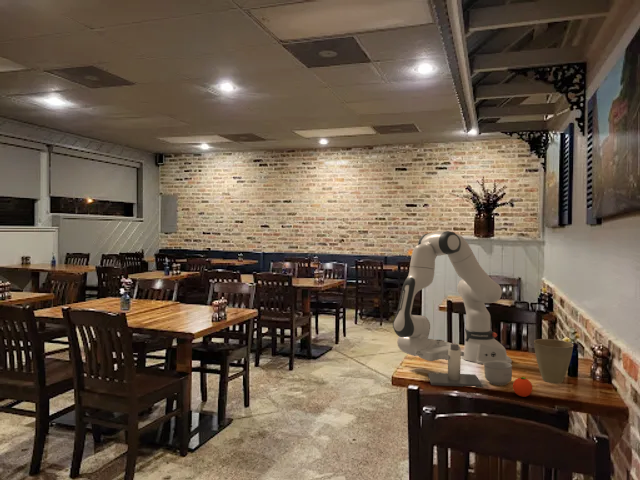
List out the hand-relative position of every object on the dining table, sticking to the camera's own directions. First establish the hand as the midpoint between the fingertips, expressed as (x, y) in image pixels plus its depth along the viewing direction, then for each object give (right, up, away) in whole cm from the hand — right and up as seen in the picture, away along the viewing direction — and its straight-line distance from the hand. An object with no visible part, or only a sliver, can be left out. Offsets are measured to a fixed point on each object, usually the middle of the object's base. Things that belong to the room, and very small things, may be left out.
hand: (456, 356), depth 202 cm
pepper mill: (-1, -9, +1) cm, 10 cm away
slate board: (-1, -10, +1) cm, 11 cm away
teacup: (+17, -11, 0) cm, 20 cm away
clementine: (+21, -11, -16) cm, 29 cm away
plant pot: (+41, -11, +2) cm, 42 cm away
